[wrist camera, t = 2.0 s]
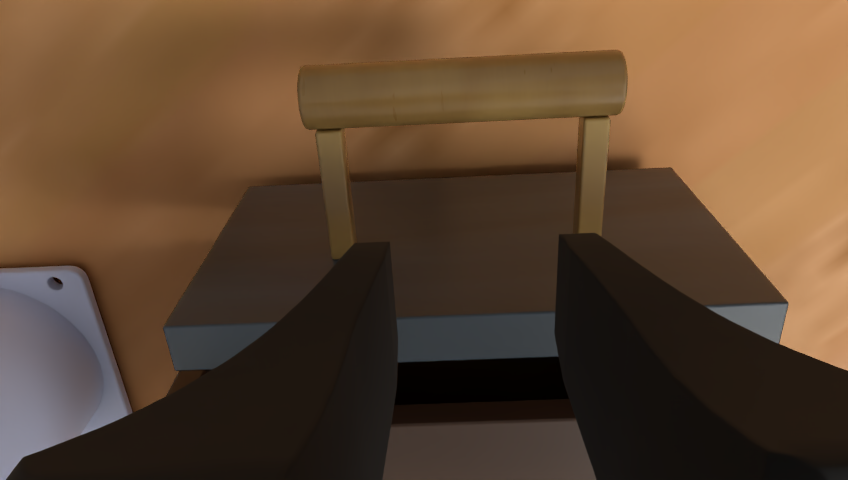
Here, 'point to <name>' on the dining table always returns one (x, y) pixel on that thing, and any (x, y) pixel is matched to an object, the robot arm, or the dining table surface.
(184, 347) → the drawer
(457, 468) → the cabinet
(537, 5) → the dining table surface
